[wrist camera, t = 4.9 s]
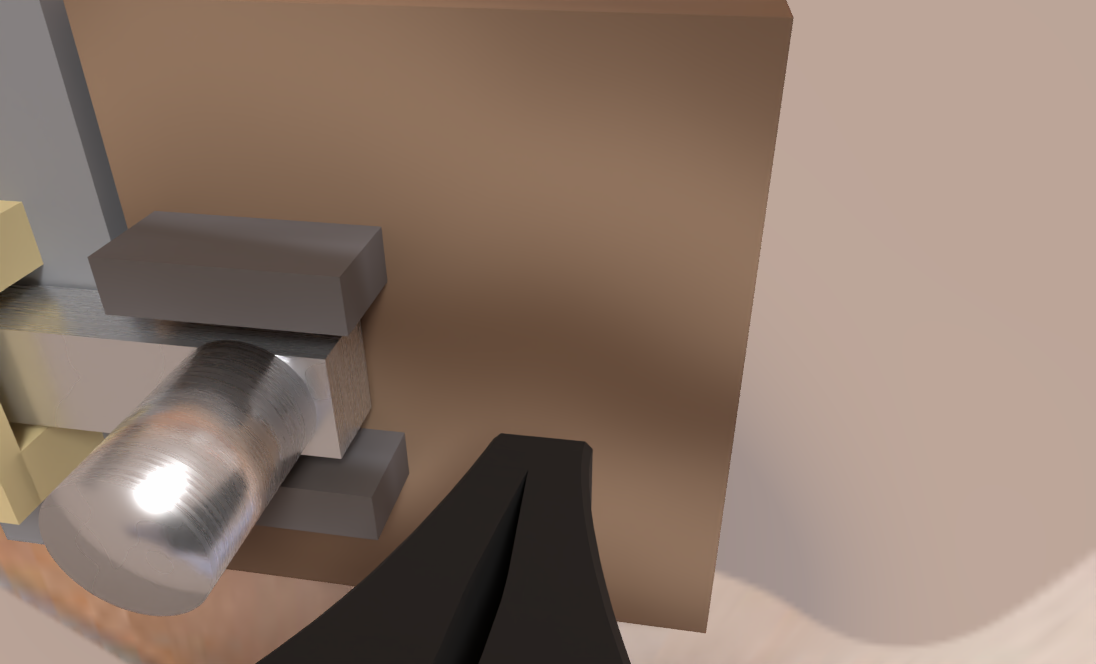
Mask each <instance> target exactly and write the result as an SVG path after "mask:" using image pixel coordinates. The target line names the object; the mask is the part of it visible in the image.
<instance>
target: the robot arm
mask: <svg viewBox="0 0 1096 664" xmlns="http://www.w3.org/2000/svg"><path fill="white" fill-rule="evenodd" d="M592 461H593V449H592V448H591V447H590V446H589V445H588V444H587V443H586V442H585V441H576V440H566V439H556V438H546V437H535V436H525V435H515V434H505V433H500V434H499V435H498V436H496V437H495V438H494V439H493V440H492V441H491V442H490V444H489V445H488V446H487V448H486V449H485V450H484V452H483V453H482V454H481V455H480V457H479V458H478V459H477V460H476V462H475V463H474V464H473V465H472V466H471V468H470V469H469V470H468V471H467V472H466V474H465V475H464V476H463V477H462V478H461V480H460V481H459V482H458V483H457V484H456V485H455V487H454V488H453V489H452V490H451V491H450V492H449V493H448V495H447V496H446V497H445V498H444V499H443V500H442V501H441V502H440V503H439V504H438V505H437V507H436V508H435V509H434V510H433V511H432V512H431V513H430V514H429V515H428V516H427V517H426V519H425V520H424V521H423V522H422V523H421V524H420V525H419V526H418V527H417V528H416V529H415V530H414V531H413V532H412V533H411V534H410V535H409V536H408V537H407V538H406V539H405V540H404V541H403V542H402V543H401V544H400V545H399V546H398V547H397V548H396V549H395V550H394V551H393V552H392V553H391V554H390V555H389V556H388V557H387V558H386V559H385V560H384V561H383V562H382V563H381V564H380V565H378V566H377V567H376V568H375V569H374V570H373V571H372V572H371V573H370V574H369V575H368V576H367V577H366V578H364V579H363V580H362V581H361V582H360V583H359V584H358V585H357V586H355V587H354V588H353V589H352V590H351V591H350V592H348V593H347V594H346V595H345V596H344V597H343V598H341V599H340V600H339V601H338V602H337V603H335V604H334V605H333V606H332V607H330V608H329V609H328V610H327V611H326V612H324V613H323V614H322V615H321V616H319V617H318V618H317V619H316V620H314V621H313V622H312V623H310V624H309V625H308V626H306V627H305V628H304V629H302V630H301V631H300V632H298V633H297V634H296V635H294V636H293V637H292V638H290V639H289V640H288V641H286V642H285V643H284V644H282V645H281V646H280V647H278V648H277V649H276V650H274V651H273V652H271V653H270V654H269V655H267V656H266V657H264V658H263V659H261V660H260V661H259V662H257V663H256V664H631V663H630V660H629V657H628V654H627V651H626V649H625V646H624V643H623V640H622V637H621V634H620V631H619V628H618V625H617V621H616V618H615V615H614V611H613V608H612V604H611V601H610V597H609V593H608V590H607V586H606V582H605V578H604V574H603V570H602V566H601V561H600V557H599V551H598V546H597V541H596V536H595V530H594V525H593V518H592V511H591V505H592Z"/></svg>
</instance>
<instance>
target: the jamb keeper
mask: <svg viewBox="0 0 1096 664" xmlns="http://www.w3.org/2000/svg"><path fill="white" fill-rule="evenodd" d="M126 230H128V228H127V224H126V220H125V217H124V213H123V210H122V206H121V203H120V199H119V196H118V192H117V189H116V185H115V182H114V178H113V175H112V171H111V168H110V164H109V160H108V157H107V153H106V150H105V146H104V143H103V139H102V136H101V132H100V129H99V125H98V122H97V118H96V115H95V111H94V107H93V104H92V100H91V97H90V93H89V90H88V86H87V83H86V79H85V76H84V72H83V69H82V65H81V62H80V58H79V55H78V51H77V47H76V44H75V40H74V37H73V33H72V30H71V26H70V23H69V19H68V16H67V12H66V9H65V5H64V2H63V0H0V292H2V291H3V290H5V289H6V288H8V287H9V286H11V285H12V284H14V283H15V284H27V285H39V286H50V287H62V288H74V289H86V290H98V289H97V286H96V283H95V280H94V277H93V273H92V270H91V267H90V264H89V261H88V258H87V257H88V256H90V255H91V254H93V253H94V252H96V251H97V250H98V249H100V248H101V247H103V246H104V245H106V244H107V243H109V242H110V241H112V240H113V239H114V238H116V237H117V236H119V235H120V234H122V233H123V232H125V231H126ZM109 434H110V433H104V432H95V431H86V430H77V429H68V428H60V427H51V426H42V425H33V424H24V423H15V422H8V420H7V417H6V415H5V413H4V410H3V408H2V405H1V403H0V524H1V526H2V528H3V531H4V533H5V535H6V537H7V539H8V540H15V541H23V542H30V543H38V544H44V542H43V540H42V537H41V534H40V529H39V512H40V508H41V506H42V503H43V502H44V500H45V499H46V497H47V496H48V495H49V494H50V493H51V492H52V491H53V490H54V489H55V488H56V487H57V486H58V485H59V484H60V483H61V482H62V481H63V480H64V479H65V478H66V477H67V476H68V475H69V474H70V473H71V472H72V471H73V470H74V469H75V468H76V467H77V466H78V465H79V464H80V463H81V462H82V461H83V460H84V459H85V458H86V457H87V456H88V455H89V454H90V453H91V452H92V451H93V450H94V449H95V448H96V447H97V446H98V445H99V444H100V443H101V442H102V441H103V440H104V439H105V438H106V437H107V436H108V435H109Z"/></svg>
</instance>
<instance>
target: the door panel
mask: <svg viewBox="0 0 1096 664" xmlns="http://www.w3.org/2000/svg"><path fill="white" fill-rule="evenodd" d="M63 2H64V5H65V9H66V12H67V16H68V19H69V23H70V26H71V30H72V33H73V37H74V40H75V44H76V47H77V51H78V55H79V58H80V62H81V65H82V69H83V72H84V76H85V79H86V83H87V86H88V90H89V93H90V97H91V100H92V104H93V107H94V111H95V115H96V118H97V122H98V125H99V129H100V132H101V136H102V139H103V143H104V146H105V150H106V153H107V157H108V160H109V164H110V168H111V171H112V175H113V178H114V182H115V185H116V189H117V192H118V196H119V199H120V203H121V206H122V210H123V213H124V217H125V220H126V224H127V228H128V230H126V231H125V232H123V233H122V234H120V235H119V236H117V237H116V238H114V239H113V240H112V241H110V242H109V243H107V244H106V245H104V246H103V247H101V248H100V249H98V250H97V251H96V252H94V253H93V254H91V255H90V256H88V257H87V258H88V261H89V264H90V267H91V270H92V273H93V277H94V280H95V283H96V286H97V289H98V292H99V296H100V299H101V302H102V305H103V308H104V311H105V315H115V316H126V317H137V318H148V319H159V320H170V321H182V322H193V323H204V324H215V325H226V326H238V327H249V328H260V329H271V330H282V331H293V332H305V333H316V334H327V335H338V336H349V335H350V333H351V332H352V330H353V329H354V328H355V326H356V325H357V323H358V322H359V321H360V323H361V331H362V338H363V345H364V353H365V360H366V367H367V375H368V382H369V389H370V397H371V404H372V408H371V409H370V411H369V413H368V415H367V416H366V418H365V420H364V421H363V423H362V425H361V426H360V428H359V430H358V432H357V433H356V435H355V437H354V438H353V440H352V442H351V443H350V445H349V447H348V449H347V450H346V452H345V454H344V455H343V457H342V459H337V458H328V457H319V456H310V455H300V457H299V458H298V460H297V461H296V463H295V464H294V466H293V467H292V469H291V470H290V472H289V473H288V475H287V476H286V478H285V479H284V481H283V482H282V484H281V486H280V487H279V489H278V490H277V492H276V493H275V495H274V496H273V498H272V499H271V501H270V502H269V504H268V505H267V507H266V508H265V510H264V511H263V513H262V514H261V516H260V517H259V519H258V521H257V522H256V524H255V525H254V527H253V528H252V530H251V531H250V533H249V534H248V536H247V537H246V539H245V540H244V542H243V543H242V545H241V546H240V548H239V549H238V551H237V552H236V554H235V556H234V557H233V559H232V560H231V562H230V563H229V565H228V566H227V568H226V569H231V570H239V571H246V572H254V573H261V574H269V575H276V576H283V577H291V578H298V579H306V580H313V581H321V582H328V583H336V584H343V585H350V586H357V585H358V584H359V583H360V582H361V581H362V580H363V579H364V578H366V577H367V576H368V575H369V574H370V573H371V572H372V571H373V570H374V569H375V568H376V567H377V566H378V565H380V564H381V563H382V562H383V561H384V560H385V559H386V558H387V557H388V556H389V555H390V554H391V553H392V552H393V551H394V550H395V549H396V548H397V547H398V546H399V545H400V544H401V543H402V542H403V541H404V540H405V539H406V538H407V537H408V536H409V535H410V534H411V533H412V532H413V531H414V530H415V529H416V528H417V527H418V526H419V525H420V524H421V523H422V522H423V521H424V520H425V519H426V517H427V516H428V515H429V514H430V513H431V512H432V511H433V510H434V509H435V508H436V507H437V505H438V504H439V503H440V502H441V501H442V500H443V499H444V498H445V497H446V496H447V495H448V493H449V492H450V491H451V490H452V489H453V488H454V487H455V485H456V484H457V483H458V482H459V481H460V480H461V478H462V477H463V476H464V475H465V474H466V472H467V471H468V470H469V469H470V468H471V466H472V465H473V464H474V463H475V462H476V460H477V459H478V458H479V457H480V455H481V454H482V453H483V452H484V450H485V449H486V448H487V446H488V445H489V444H490V442H491V441H492V440H493V439H494V438H495V437H496V436H498V435H499V434H500V433H505V434H515V435H525V436H535V437H546V438H556V439H566V440H576V441H585V442H586V443H587V444H588V445H589V446H590V447H591V448H592V449H593V461H592V505H591V511H592V518H593V525H594V530H595V536H596V541H597V546H598V551H599V557H600V561H601V566H602V570H603V574H604V578H605V582H606V586H607V590H608V593H609V597H610V601H611V604H612V608H613V611H614V615H615V618H616V621H619V622H626V623H633V624H641V625H648V626H656V627H663V628H671V629H678V630H686V631H693V632H700V633H706V628H707V621H708V614H709V607H710V600H711V593H712V586H713V579H714V572H715V565H716V558H717V551H718V544H719V537H720V530H721V523H722V516H723V508H724V502H725V495H726V488H727V481H728V474H729V467H730V460H731V453H732V445H733V438H734V431H735V424H736V417H737V410H738V403H739V397H740V390H741V382H742V375H743V368H744V361H745V354H746V347H747V340H748V333H749V326H750V319H751V312H752V305H753V298H754V291H755V284H756V277H757V270H758V262H759V256H760V249H761V242H762V234H763V228H764V221H765V214H766V206H767V199H768V192H769V185H770V179H771V171H772V165H773V157H774V151H775V144H776V137H777V130H778V122H779V115H780V108H781V101H782V94H783V87H784V80H785V73H786V66H787V59H788V51H789V45H790V37H791V31H792V24H793V15H792V13H791V11H790V8H789V6H788V4H787V1H786V0H63Z"/></svg>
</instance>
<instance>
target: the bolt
mask: <svg viewBox="0 0 1096 664" xmlns="http://www.w3.org/2000/svg"><path fill="white" fill-rule="evenodd" d="M0 403H1V405H2V408H3V410H4V413H5V415H6V417H7V420H8V422H15V423H24V424H33V425H42V426H51V427H60V428H68V429H77V430H86V431H95V432H104V433H110V434H109V435H108V436H107V437H106V438H105V439H104V440H103V441H102V442H101V443H100V444H99V445H98V446H97V447H96V448H95V449H94V450H93V451H92V452H91V453H90V454H89V455H88V456H87V457H86V458H85V459H84V460H83V461H82V462H81V463H80V464H79V465H78V466H77V467H76V468H75V469H74V470H73V471H72V472H71V473H70V474H69V475H68V476H67V477H66V478H65V479H64V480H63V481H62V482H61V483H60V484H59V485H58V486H57V487H56V488H55V489H54V490H53V491H52V492H51V493H50V494H49V495H48V496H47V497H46V499H45V500H44V502H43V503H42V506H41V508H40V512H39V529H40V534H41V537H42V540H43V542H44V544H45V546H46V548H47V550H48V552H49V553H50V555H51V556H52V558H53V559H54V560H55V562H56V563H57V564H58V565H59V567H60V568H61V569H62V570H63V571H64V572H65V573H66V574H67V575H68V576H69V577H70V578H72V579H73V580H74V581H75V582H76V583H77V584H79V585H80V586H81V587H83V588H84V589H85V590H87V591H89V592H90V593H92V594H93V595H95V596H97V597H98V598H100V599H102V600H104V601H106V602H108V603H110V604H113V605H115V606H117V607H120V608H123V609H125V610H128V611H132V612H136V613H140V614H145V615H153V616H173V615H179V614H183V613H187V612H189V611H191V610H194V609H195V608H197V607H198V606H200V605H201V604H202V603H203V602H204V601H205V600H206V598H207V597H208V595H209V594H210V592H211V591H212V589H213V587H214V586H215V584H216V583H217V581H218V580H219V578H220V577H221V575H222V574H223V572H224V571H225V569H226V568H227V566H228V565H229V563H230V562H231V560H232V559H233V557H234V556H235V554H236V552H237V551H238V549H239V548H240V546H241V545H242V543H243V542H244V540H245V539H246V537H247V536H248V534H249V533H250V531H251V530H252V528H253V527H254V525H255V524H256V522H257V521H258V519H259V517H260V516H261V514H262V513H263V511H264V510H265V508H266V507H267V505H268V504H269V502H270V501H271V499H272V498H273V496H274V495H275V493H276V492H277V490H278V489H279V487H280V486H281V484H282V482H283V481H284V479H285V478H286V476H287V475H288V473H289V472H290V470H291V469H292V467H293V466H294V464H295V463H296V461H297V460H298V458H299V457H300V455H310V456H319V457H328V458H337V459H342V457H343V455H344V454H345V452H346V450H347V449H348V447H349V445H350V443H351V442H352V440H353V438H354V437H355V435H356V433H357V432H358V430H359V428H360V426H361V425H362V423H363V421H364V420H365V418H366V416H367V415H368V413H369V411H370V409H371V408H372V404H371V397H370V389H369V382H368V375H367V367H366V360H365V353H364V345H363V338H362V331H361V323H360V321H359V322H358V323H357V325H356V326H355V328H354V329H353V330H352V332H351V333H350V335H349V336H338V335H327V334H316V333H305V332H293V331H282V330H271V329H260V328H249V327H238V326H226V325H215V324H204V323H193V322H182V321H170V320H159V319H148V318H137V317H126V316H115V315H105V311H104V308H103V305H102V302H101V299H100V296H99V292H98V290H86V289H74V288H62V287H50V286H39V285H27V284H15V283H14V284H12V285H11V286H9V287H8V288H6V289H5V290H3V291H2V292H0Z"/></svg>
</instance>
